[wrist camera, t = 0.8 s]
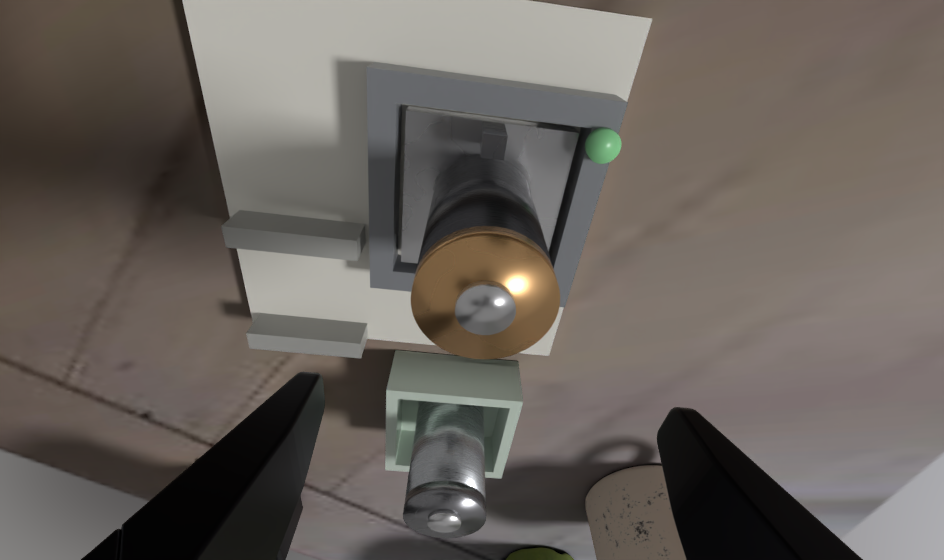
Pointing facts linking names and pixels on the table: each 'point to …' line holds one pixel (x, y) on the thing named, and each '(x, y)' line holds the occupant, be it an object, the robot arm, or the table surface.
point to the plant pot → (538, 555)
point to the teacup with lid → (633, 516)
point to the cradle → (461, 135)
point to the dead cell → (447, 471)
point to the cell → (484, 264)
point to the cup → (452, 401)
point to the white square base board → (385, 140)
